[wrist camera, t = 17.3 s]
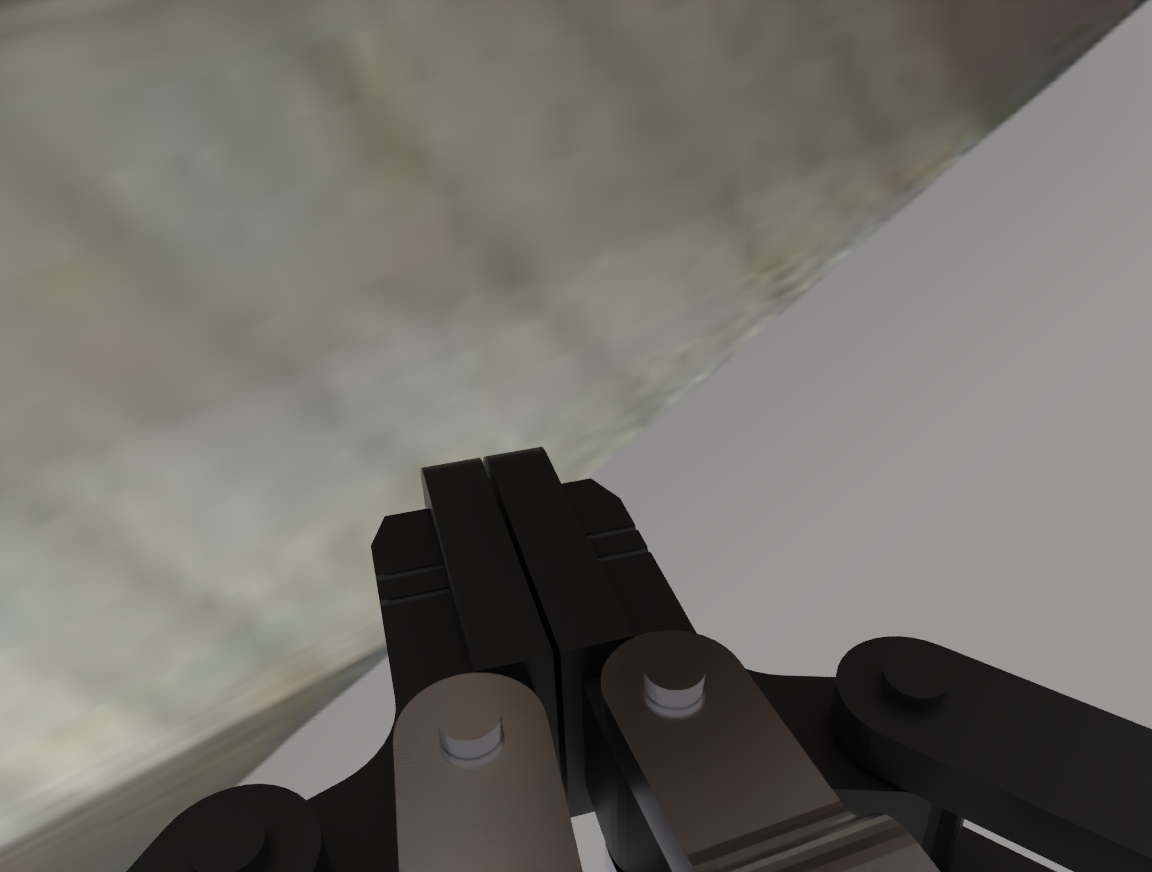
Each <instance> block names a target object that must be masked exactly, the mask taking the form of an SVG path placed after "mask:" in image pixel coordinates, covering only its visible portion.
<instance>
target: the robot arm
mask: <svg viewBox="0 0 1152 872" xmlns="http://www.w3.org/2000/svg"><path fill="white" fill-rule="evenodd" d="M421 477H422V486H423V493H424V500H425V507H426V509H423V510H417V511H412V512H406V513H401V514H395V515H390V516H385V517H384V519H383V521H382V523H381V526H380V528H379V530H378V532H377V534H376V536H375V538H374V540H373V543H372V545H371V549H372V555H373V562H374V568H375V574H376V580H377V587H378V593H379V600H380V606H381V612H382V619H383V625H384V631H385V638H386V644H387V650H388V657H389V663H390V669H391V676H392V682H393V688H394V694H395V703H396V713H395V719H394V723H393V726H392V729H391V732H390V734H389V736H388V737H387V739H386V741H385V743H384V745H383V746H382V747H381V748H380V750H379V751H378V752H377V754H376V755H375V756H374V757H373V758H372V759H371V760H370V761H369V762H368V763H367V764H366V765H365V766H363V767H362V768H361V769H360V770H358V771H357V772H356V773H354V774H353V775H351V776H350V777H348V778H346V779H345V780H343V781H342V782H340V783H338V784H336V785H334V786H332V787H330V788H329V789H327V790H325V791H323V792H321V793H319V794H317V795H316V796H314V797H312V798H310V799H308V800H305V799H304V798H302V797H301V796H300V795H299V794H297V793H295V792H293V791H291V790H289V789H287V788H283V787H279V786H276V785H267V784H253V785H252V784H250V785H242V786H237V787H232V788H229V789H226V790H223V791H220V792H217V793H215V794H212V795H210V796H208V797H206V798H204V799H202V800H200V801H199V802H197V803H195V804H194V805H192V806H190V807H189V808H187V809H186V810H185V811H184V812H182V813H181V814H180V815H178V816H177V817H176V818H175V819H174V820H173V821H172V822H171V823H170V824H169V825H168V826H167V827H166V828H165V829H164V830H163V831H162V832H161V833H160V834H159V835H158V837H157V838H156V839H155V840H154V841H153V842H152V843H151V844H150V846H149V847H148V848H147V849H146V850H145V851H144V852H143V853H142V855H141V856H140V857H139V858H138V859H137V860H136V861H135V862H134V864H133V865H132V866H131V867H130V868H129V869H128V870H127V871H126V872H583V871H582V867H581V863H580V858H579V854H578V849H577V845H576V841H575V837H574V832H573V828H572V823H571V819H570V818H571V817H574V816H578V815H582V814H586V813H590V812H594V811H595V813H596V816H597V819H598V822H599V825H600V828H601V831H602V833H603V836H604V839H605V866H606V872H1056V871H1054V870H1051V869H1050V868H1047V867H1046V866H1043V865H1041V864H1039V863H1037V862H1035V861H1033V860H1031V859H1029V858H1027V857H1025V856H1023V855H1021V854H1019V853H1016V852H1015V851H1013V850H1011V849H1009V848H1007V847H1005V846H1002V845H1000V844H998V843H996V842H994V841H992V840H990V839H988V838H986V837H984V836H982V835H980V834H978V833H976V832H973V831H972V830H970V829H968V828H965V827H963V822H964V819H966V820H968V821H970V822H972V823H974V824H976V825H978V826H980V827H983V828H985V829H987V830H989V831H991V832H993V833H995V834H997V835H999V836H1001V837H1003V838H1005V839H1007V840H1010V841H1012V842H1014V843H1016V844H1018V845H1020V846H1022V847H1024V848H1026V849H1028V850H1030V851H1032V852H1034V853H1037V854H1038V855H1041V856H1043V857H1045V858H1047V859H1049V860H1051V861H1053V862H1055V863H1057V864H1059V865H1061V866H1063V867H1065V868H1068V869H1070V870H1072V871H1074V872H1152V729H1150V728H1147V727H1145V726H1142V725H1140V724H1137V723H1134V722H1132V721H1129V720H1127V719H1124V718H1122V717H1119V716H1117V715H1114V714H1112V713H1109V712H1107V711H1104V710H1102V709H1099V708H1097V707H1094V706H1091V705H1089V704H1086V703H1084V702H1081V701H1079V700H1076V699H1074V698H1071V697H1069V696H1066V695H1063V694H1061V693H1059V692H1056V691H1054V690H1051V689H1049V688H1046V687H1043V686H1041V685H1038V684H1036V683H1033V682H1031V681H1028V680H1026V679H1023V678H1021V677H1018V676H1016V675H1013V674H1011V673H1008V672H1006V671H1003V670H1001V669H998V668H995V667H993V666H990V665H988V664H985V663H983V662H980V661H978V660H975V659H973V658H970V657H968V656H965V655H962V654H960V653H958V652H955V651H952V650H950V649H947V648H945V647H942V646H940V645H937V644H934V643H931V642H928V641H924V640H920V639H916V638H909V637H900V636H898V637H881V638H875V639H872V640H868V641H865V642H863V643H860V644H858V645H856V646H855V647H853V648H852V649H851V650H849V651H848V652H847V653H846V654H845V656H844V657H843V658H842V660H841V661H840V663H839V665H838V669H837V674H836V677H813V676H783V675H771V674H765V673H760V672H755V671H752V670H748V669H745V668H744V666H743V665H742V664H741V662H740V661H739V660H738V659H737V657H736V656H735V655H734V654H733V653H732V652H731V651H729V650H728V649H727V648H726V647H725V646H723V645H721V644H720V643H718V642H716V641H715V640H712V639H710V638H708V637H705V636H703V635H699V634H697V633H696V631H695V630H694V628H693V626H692V625H691V623H690V621H689V619H688V617H687V615H686V614H685V612H684V610H683V609H682V607H681V605H680V603H679V601H678V600H677V598H676V596H675V594H674V593H673V591H672V589H671V587H670V586H669V584H668V582H667V580H666V579H665V577H664V575H663V573H662V572H661V570H660V568H659V566H658V564H657V563H656V561H655V559H654V557H653V556H652V554H651V552H648V549H647V545H646V543H645V542H644V540H643V538H642V536H641V534H640V533H639V531H638V530H636V529H635V524H634V522H633V520H632V519H631V517H630V515H629V513H628V512H627V510H626V508H625V506H624V504H623V503H622V501H621V499H620V498H619V497H617V496H616V495H614V494H613V493H611V492H610V491H608V490H607V489H606V488H604V487H603V486H601V485H600V484H598V483H597V482H595V481H594V480H592V479H585V480H580V481H574V482H569V483H563V484H561V482H560V480H559V478H558V476H557V474H556V472H555V470H554V468H553V466H552V464H551V462H550V460H549V457H548V455H547V453H546V451H545V450H544V448H543V447H538V448H532V449H526V450H520V451H515V452H509V453H503V454H497V455H492V456H486V457H484V459H483V462H482V460H481V459H480V458H476V459H470V460H464V461H458V462H452V463H447V464H441V465H435V466H429V467H424V468H421Z"/></svg>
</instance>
